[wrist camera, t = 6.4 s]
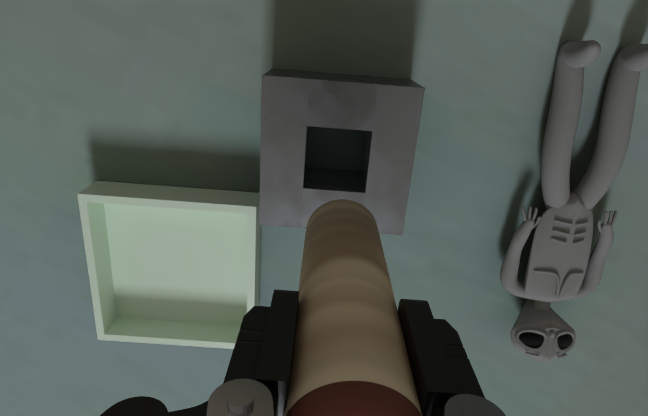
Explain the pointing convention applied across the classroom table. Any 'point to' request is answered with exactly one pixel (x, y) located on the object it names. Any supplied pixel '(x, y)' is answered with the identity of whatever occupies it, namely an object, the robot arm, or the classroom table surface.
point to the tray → (171, 262)
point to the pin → (348, 323)
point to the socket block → (343, 113)
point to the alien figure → (570, 200)
